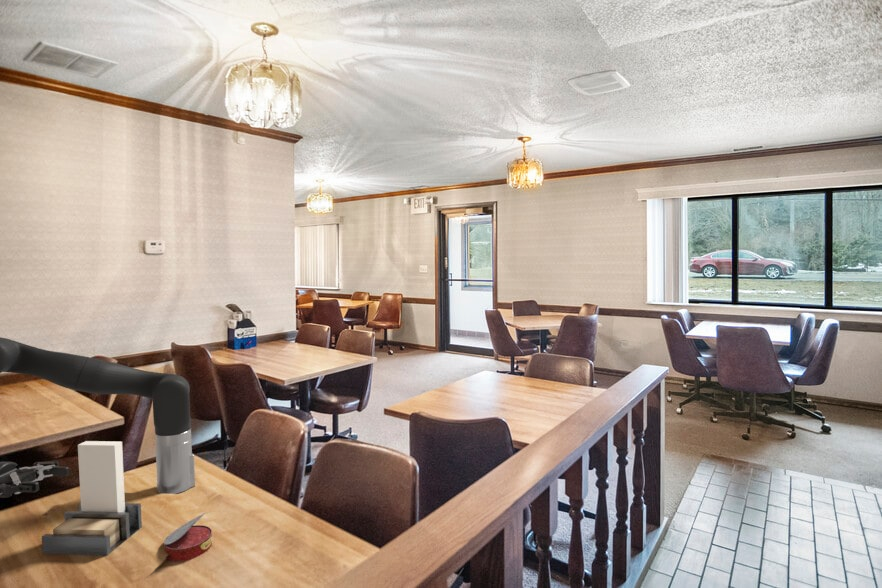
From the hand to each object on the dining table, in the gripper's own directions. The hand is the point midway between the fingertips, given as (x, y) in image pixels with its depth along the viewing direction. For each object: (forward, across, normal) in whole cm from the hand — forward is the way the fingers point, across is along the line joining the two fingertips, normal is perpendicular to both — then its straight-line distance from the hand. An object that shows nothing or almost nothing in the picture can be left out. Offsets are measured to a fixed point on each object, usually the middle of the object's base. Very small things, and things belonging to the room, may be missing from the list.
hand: (53, 479), depth 117 cm
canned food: (+35, -3, +15) cm, 38 cm away
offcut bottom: (+12, -5, +13) cm, 19 cm away
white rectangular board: (+12, 0, +13) cm, 18 cm away
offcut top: (+12, -5, +10) cm, 17 cm away
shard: (-6, +11, +15) cm, 20 cm away
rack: (+12, -3, +14) cm, 19 cm away
